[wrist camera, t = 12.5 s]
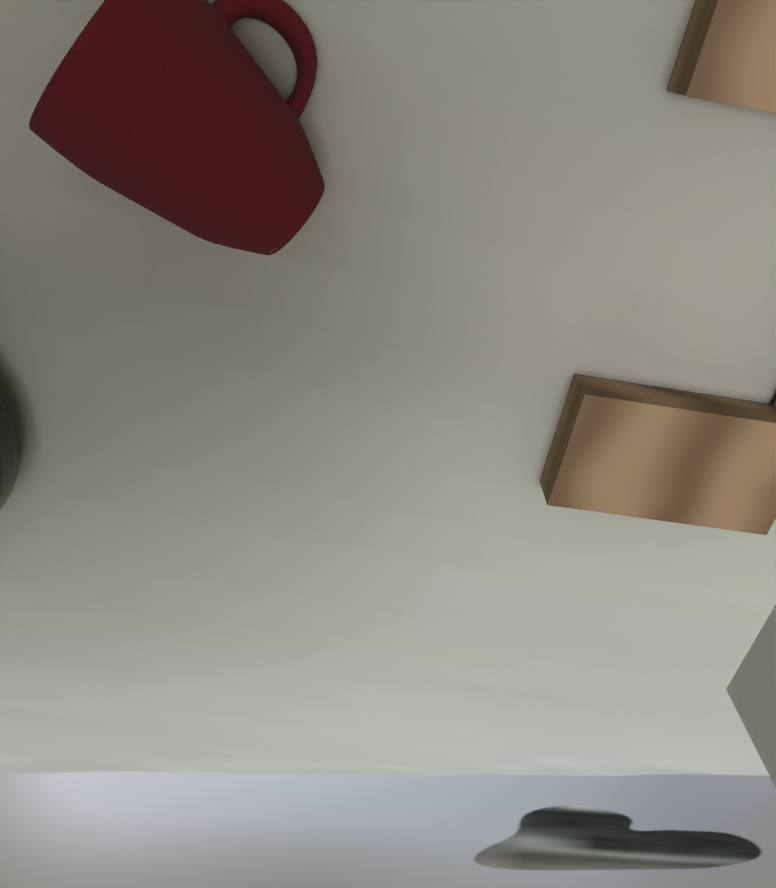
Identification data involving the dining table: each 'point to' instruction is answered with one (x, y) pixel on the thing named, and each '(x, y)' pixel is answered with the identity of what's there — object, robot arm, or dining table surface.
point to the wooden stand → (666, 410)
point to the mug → (189, 118)
